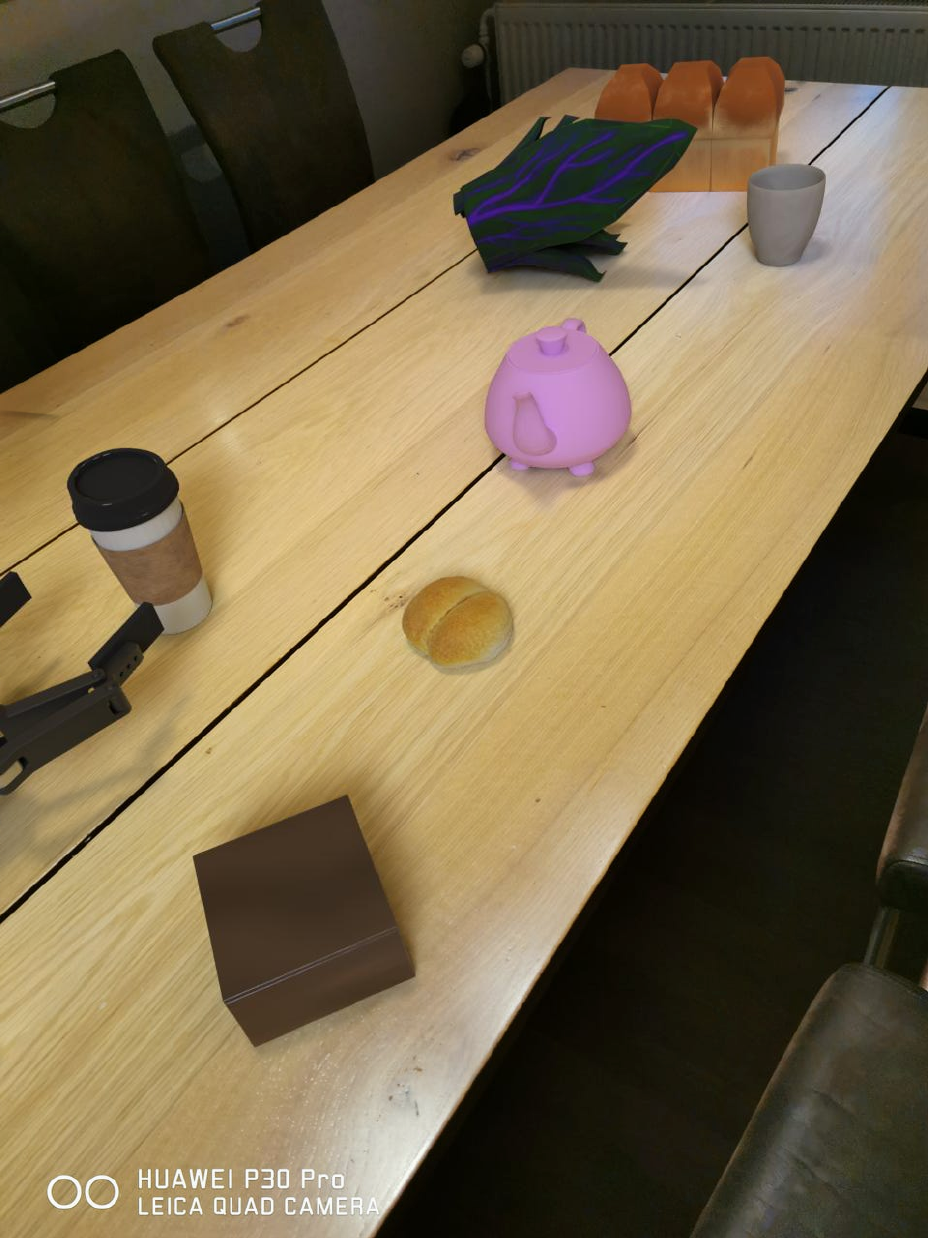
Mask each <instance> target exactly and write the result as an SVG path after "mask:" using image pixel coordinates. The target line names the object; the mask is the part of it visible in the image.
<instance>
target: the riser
mask: <svg viewBox="0 0 928 1238" xmlns="http://www.w3.org/2000/svg"><path fill="white" fill-rule="evenodd" d="M192 861H193V866H194V869H195V875H196V879H197V884H198V888H199V894H200V898H201V904H202V908H203V913H204V918H205V923H206V928H207V932H208V937H209V942H210V947H211V951H212V956H213V961H214V966H215V971H216V975H217V980H218V985H219V989H220V995H221V999H222V1002H223V1004H224V1005H225V1007H226V1008H227V1009H228V1011H229V1013H230V1014H231V1015H232V1017H233V1018H234V1020H235V1022H236V1023H237V1024H238V1025H239V1027H240V1029H241V1030H242V1031H243V1033H244V1035H245V1036H246V1038H247V1040H249V1041H250V1043H251V1045H252V1046H253V1047H254V1048H257V1047H259V1046H262V1045H264V1044H266V1043H269V1042H271V1041H273V1040H276V1039H278V1038H280V1037H282V1036H284V1035H286V1034H288V1033H291V1032H293V1031H296V1030H297V1029H301V1028H302V1027H305V1026H306V1025H309V1024H311V1023H314V1022H316V1021H318V1020H320V1019H322V1018H325V1017H327V1016H330V1015H332V1014H333V1013H336V1012H339V1011H341V1010H343V1009H345V1008H348V1007H350V1006H352V1005H355V1004H356V1003H359V1002H361V1001H363V1000H365V999H367V998H370V997H372V996H374V995H377V994H379V993H382V992H383V991H386V990H389V989H390V988H393V987H395V986H397V985H400V984H402V983H404V982H406V981H408V980H410V979H413V978H415V977H416V973H415V970H414V968H413V963H412V962H411V959H410V956H409V953H408V950H407V947H406V946H405V945H406V944H405V943H404V940H403V936H402V934H401V931H400V929H399V926H398V924H397V921H396V918H395V915H394V913H393V910H392V908H391V907H392V906H391V905H390V902H389V900H388V897H387V894H386V892H385V888H384V886H383V884H382V881H381V878H380V876H379V873H378V870H377V868H376V865H375V863H374V860H373V858H372V854H371V852H370V849H369V847H368V844H367V841H366V839H365V835H364V833H363V830H362V828H361V826H360V823H359V820H358V818H357V815H356V813H355V810H354V807H353V804H352V802H351V799H350V797H349V794H348V793H346V794H344V795H341V796H339V797H336V798H334V799H331V800H329V801H325V802H324V803H321V804H318V805H315V806H314V807H311V808H309V809H306V810H304V811H301V812H299V813H297V814H294V815H291V816H289V817H286V818H284V819H281V820H278V821H276V822H273V823H272V824H269V825H267V826H264V827H261V828H258V829H256V830H254V831H251V832H249V833H246V834H243V835H241V836H239V837H236V838H234V839H231V840H229V841H226V842H223V843H220V844H219V845H216V846H214V847H211V848H209V849H206V850H204V851H201V852H198V853H196V854H194V855H192Z"/></svg>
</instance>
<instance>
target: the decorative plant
mask: <svg viewBox="0 0 928 1238" xmlns="http://www.w3.org/2000/svg"><path fill="white" fill-rule="evenodd" d="M552 118H553V116H539V117H538V118H537V120H536V121H535V123H534V124H533V125H532V127H531V128H530V129H529V130H528V131H527V133H526V134H525V135H524V137H523V138H522V139H521V140H520V141H519V143H518V144H516V146H515V147H514V148H513V149H512V150H511V151H510V153H508V154H507V156H505V157H504V158H503V160H501V161H500V163H498V164H497V165H496V166H495V167H494V168H493V169H490V170H487V172H484V173H483V174H481V175H479V176H477V177H475V178H473V179H471V180H470V181H468V182H467V183H464V184H463V185H462V186H461V187H459V191H457V192H455V193H453V195H452V196H453V197H452V203H453V204H452V207H453V212H454V216H455V217H456V216H458V215H460V216H461V218H462V219H465V221H466V224H467V227H468V230H469V234H470V236H471V239H472V241H473V243H474V245H475V247H476V250H477V252H478V253H479V256H480V258H481V260H482V263H483V265H484V267H485V269H486V272H487V273H488V274H491V273H494V272H497V271H499V270H502V269H504V268H508V267H513V266H518V265H526V266H535V267H542V268H547V269H553V270H558V271H564V272H567V273H570V274H573V275H577V276H580V277H584V278H587V279H590V280H592V281H594V282H596V283H599V282H600V281H601V280H602V278H603V277H604V275H605V274H606V273H607V272H608V270H607V269H606V270H605V271H603V272H599V271H598V269H597V268H596V267H595V265H594V263H592V261H591V260H589V259H588V258H587V257H585V256H589V255H600V254H601V255H605V254H606V255H614V256H619V255H620V254H621V253H622V252H623V251H624V249H625V248H626V246H627V245H628V243H629V242H627V241H619V240H618V238H619V237H620V236H621V235H622V233H615V234H613V233H609V232H608V231H606V230H604V229H606V228H608V227H610V225H612V224H614V223H616V222H618V220H619V219H621V218H622V216H624V215H626V213H627V212H628V211H629V210H631V208H632V207H633V206H634V205H635V204H636V203H638V201H639V200H640V199H642V198H643V196H645V195H646V194H647V193H648V192H647V191H648V190H650V189H651V188H652V187H653V186H654V185H655V184H656V183H657V182H658V181H659V180H660V179H661V178H663V177H664V176H665V175H666V174H667V173H669V172H670V171H671V170H672V169H673V168H674V167H675V166H676V164H677V163H678V162H679V160H680V159H681V158H682V156H683V155H684V153H685V152H686V150H687V149H688V147H689V145H690V143H691V141H692V139H693V137H694V135H695V134H696V132H697V130H698V128H696V127H694V126H692V125H690V124H688V123H686V122H684V121H682V120H680V119H674V118H666V119H656V120H652V121H647V122H642V123H639V122H627V121H615V120H603V119H594V118H590V117H589V118H588V117H585V118H583V119H581V117H580V116H574V115H571V114H564V115H563V117H561V119H560V121H559V122H558V123H557V125H555V127H554V128H553V129H552V130H549V131H548V132H547V133H545V134H544V135H542V134H543V130H544V127H545V123H546V122H547V121H548V120H549V119H552Z"/></svg>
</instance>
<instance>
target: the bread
mask: <svg viewBox="0 0 928 1238" xmlns="http://www.w3.org/2000/svg"><path fill="white" fill-rule="evenodd" d="M784 75H785V74H784V72H783V71H782V68H781V65H780V64H779V63H777V62H776V61H775V60H774V59H773V58H771V57H770V56H756V57H755V56H754V57H741V58H740V59H738V60H737V62H735V63H734V65H733V66H732V67H731V68H730V70H729V72H728V74H727V76H726V78H725V80H724V76H723V73H722V69H721V68H720V67H719V65H717V64H716V63H715V62H714V61H713V60H712V59H709V60H694V61H693V60H692V61H676V62H674V63H673V65H672V66H671V67H670V70H669V71H668V73H667V75H666V76H665V79H664V78H663V76H662V73H661V72H660V71H659V70H658V69H656V68H655V67H654V66H651V65H650V64H649V63H648V62H646V63H645V62H644V63H629V64H628V63H626V64H621V65H620V66H619V67H618V69H617V70H616V72H615V73H614V74H613V75H612V76H611V78H610V79H609V81H608V83H607V84H606V85H605V86H604V87H603V89H602V90H601V93H600V96H599V98H598V102H597V104H596V108H595V110H594V118H593V119H603V120H615V121H627V122H639V123H642V122H647V121H652V120H656V119H666V118H674V119H680V120H682V121H684V122H686V123H688V124H690V125H692V126H694V127H696V128H698V130H697V132H696V134H695V135H694V137H693V139H692V141H691V143H690V145H689V147H688V149H687V150H686V152H685V153H684V155H683V156H682V158H681V159H680V160H679V162H678V163H677V164H676V166H675V167H674V168H673V169H672V170H671V171H670V172H669V173H667V174H666V175H665V176H664V177H663V178H661V179H660V180H659V181H658V182H657V183H656V184H655V185H654V186H653V187H652V188H651V189H650V190H648V191H647V192H646V193H674V192H675V193H677V192H679V193H680V192H682V193H683V192H685V193H686V192H687V193H688V192H747V186H748V180H749V178H750V176H751V175H752V174H753V173H754V172H756V171H758V170H760V169H762V168H765V167H769V166H774V165H776V162H777V157H778V156H777V155H778V144H779V143H778V142H779V132H780V131H779V130H780V121H781V116H782V113H783V109H784V107H785V100H786V99H785V97H786V95H785V94H786V93H785V92H786V78H785V76H784Z"/></svg>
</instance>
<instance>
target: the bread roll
mask: <svg viewBox="0 0 928 1238" xmlns="http://www.w3.org/2000/svg"><path fill="white" fill-rule="evenodd" d="M401 628H402V631H403V633H404V635H405V637H406V639H407V640H408V642H409V643H410V644H411V645H412V646H413V647H414V648H416V649H417V650H419V651H420V652H421V653H423V654H424V655H426V656H427V657H428V658H429V659H430V660H431V661H433V663H435V664H436V665H438V666H440V667H442V668H445V669H450V670H451V669H460V668H466V667H470V666H474V665H479V664H483V663H488V662H490V661H491V660H493V659H494V658H495V659H496V658H497V656H499V654H501V653H502V651H503V650H504V649H505V648H506V647H507V645H508V643H509V640H510V638H511V636H512V633H513V629H514V619H513V613H512V610H511V608H510V606H509V603H508V601H507V600H506V599H505V597H503V596H502V595H501V594H499V593H497V592H494V591H491V590H490V589H488V588H487V587H486V586H484V585H483V584H481V582H478V581H477V580H475V579H471V578H469V577H467V576H463V575H462V576H461V575H455V576H446V577H441V578H438V579H436V580H434V581H432V582H430V583H428V584H427V585H425V586H424V587H423V588H422V589H420V590H419V592H417V594H415V595H414V596H412V598H410V600H409V601H407V604H406V605H405V607H404V612H403V615H402V621H401Z"/></svg>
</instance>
